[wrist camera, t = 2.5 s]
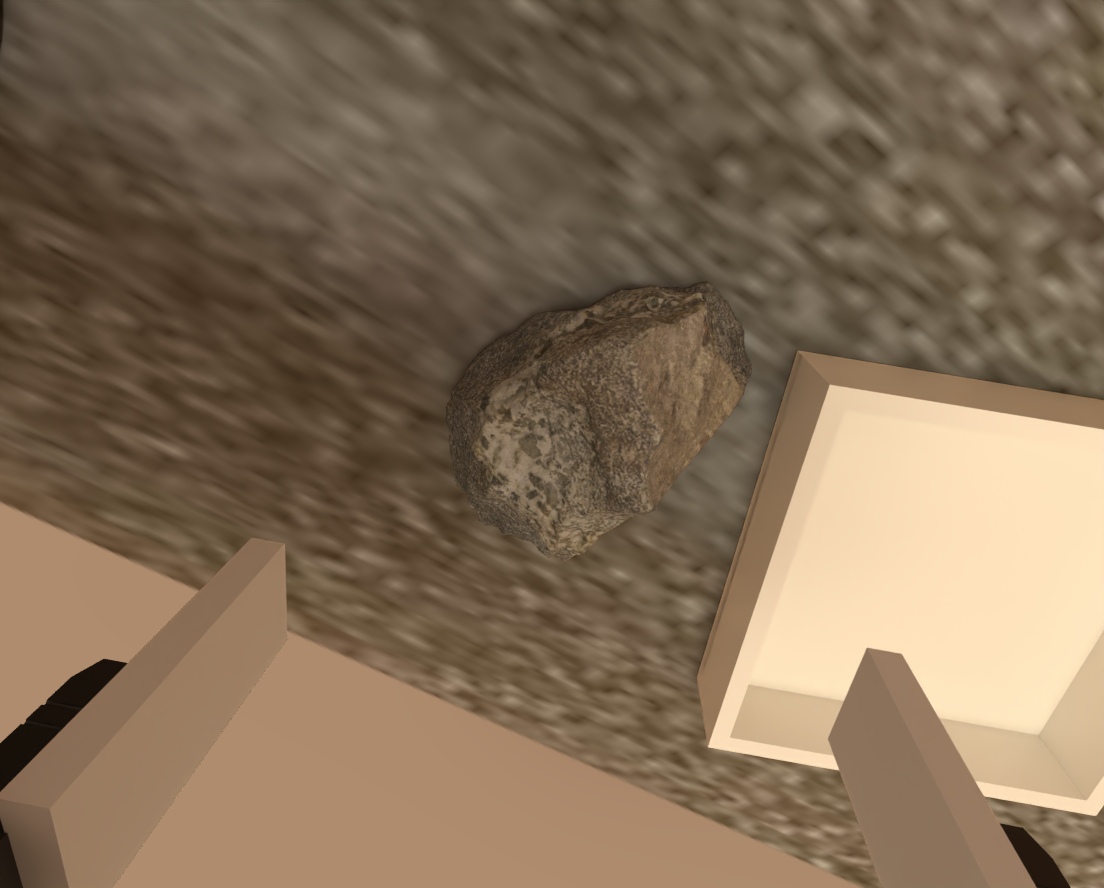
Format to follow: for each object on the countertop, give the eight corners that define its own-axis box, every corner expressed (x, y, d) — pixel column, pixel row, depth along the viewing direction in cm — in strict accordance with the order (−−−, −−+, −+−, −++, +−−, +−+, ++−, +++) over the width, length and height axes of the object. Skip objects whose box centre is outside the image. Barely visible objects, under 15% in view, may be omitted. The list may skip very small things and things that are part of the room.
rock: (552, 545, 31) (536, 633, 25) (413, 425, 30) (360, 490, 24) (773, 349, 27) (818, 399, 21) (624, 194, 25) (625, 201, 19)
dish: (696, 677, 34) (707, 747, 30) (797, 350, 27) (829, 384, 23) (1038, 736, 33) (1095, 815, 29) (1234, 421, 26) (1345, 469, 22)
